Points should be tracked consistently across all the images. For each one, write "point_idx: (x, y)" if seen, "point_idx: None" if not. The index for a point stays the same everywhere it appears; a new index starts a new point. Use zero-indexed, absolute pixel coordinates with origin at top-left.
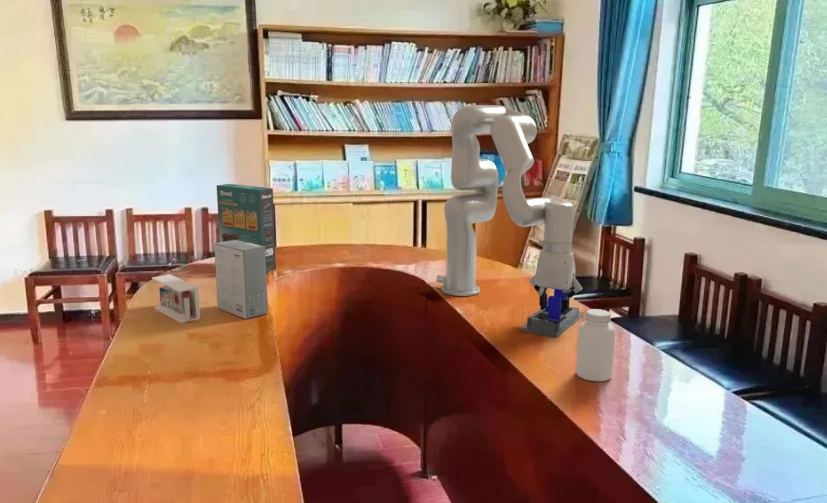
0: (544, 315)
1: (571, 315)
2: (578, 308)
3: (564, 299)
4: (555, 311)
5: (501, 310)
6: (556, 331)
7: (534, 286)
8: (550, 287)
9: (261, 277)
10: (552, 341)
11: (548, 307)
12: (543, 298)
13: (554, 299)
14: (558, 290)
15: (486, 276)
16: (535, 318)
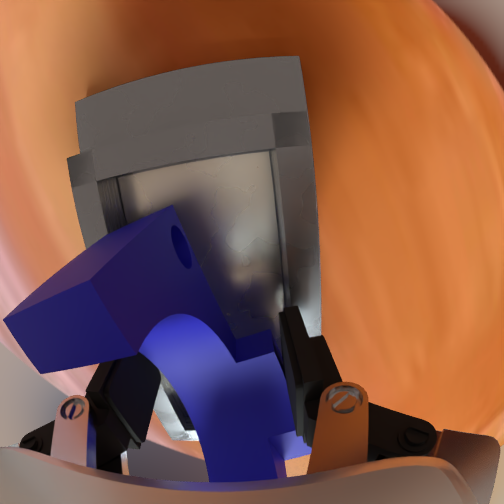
0: None
1: None
2: (171, 437)
3: (96, 404)
4: (102, 244)
5: (473, 290)
6: (92, 139)
7: (433, 434)
8: (167, 491)
9: None
10: (81, 54)
11: (256, 353)
12: (293, 372)
13: (50, 291)
14: None
15: (488, 430)
16: (248, 137)
